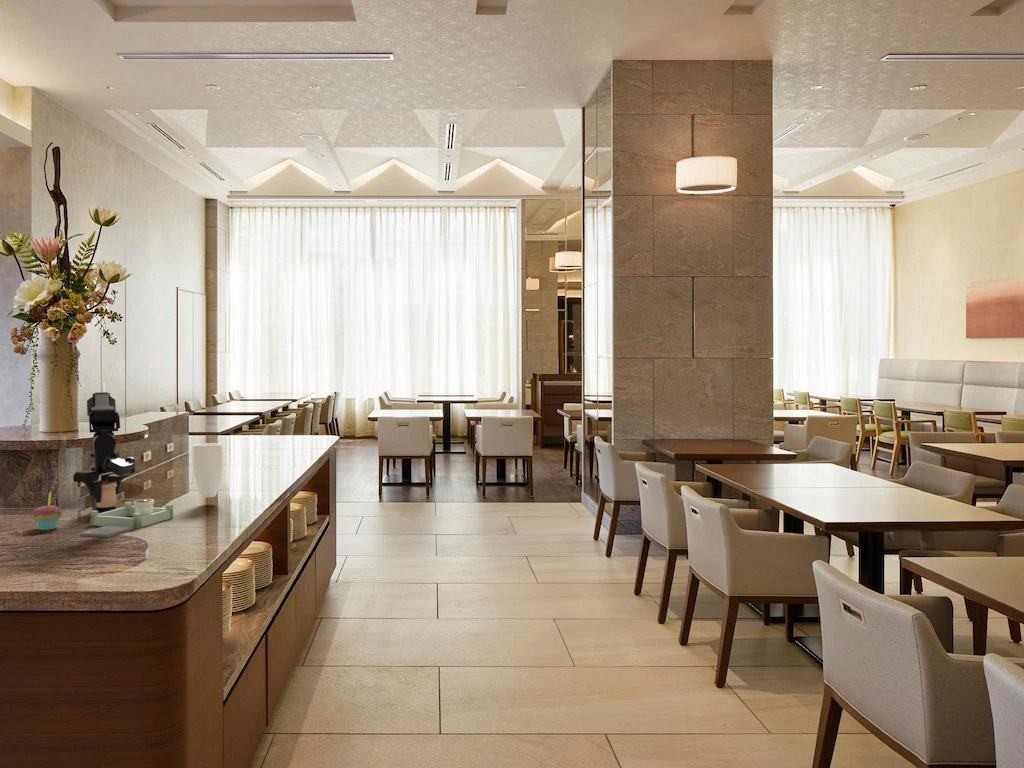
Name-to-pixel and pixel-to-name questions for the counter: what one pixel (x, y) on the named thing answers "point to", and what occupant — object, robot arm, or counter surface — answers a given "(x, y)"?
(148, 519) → the cold frame
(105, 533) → the slate tile
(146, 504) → the pot
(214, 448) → the cup
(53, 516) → the cupcake
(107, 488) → the terracotta pot
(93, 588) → the counter surface
